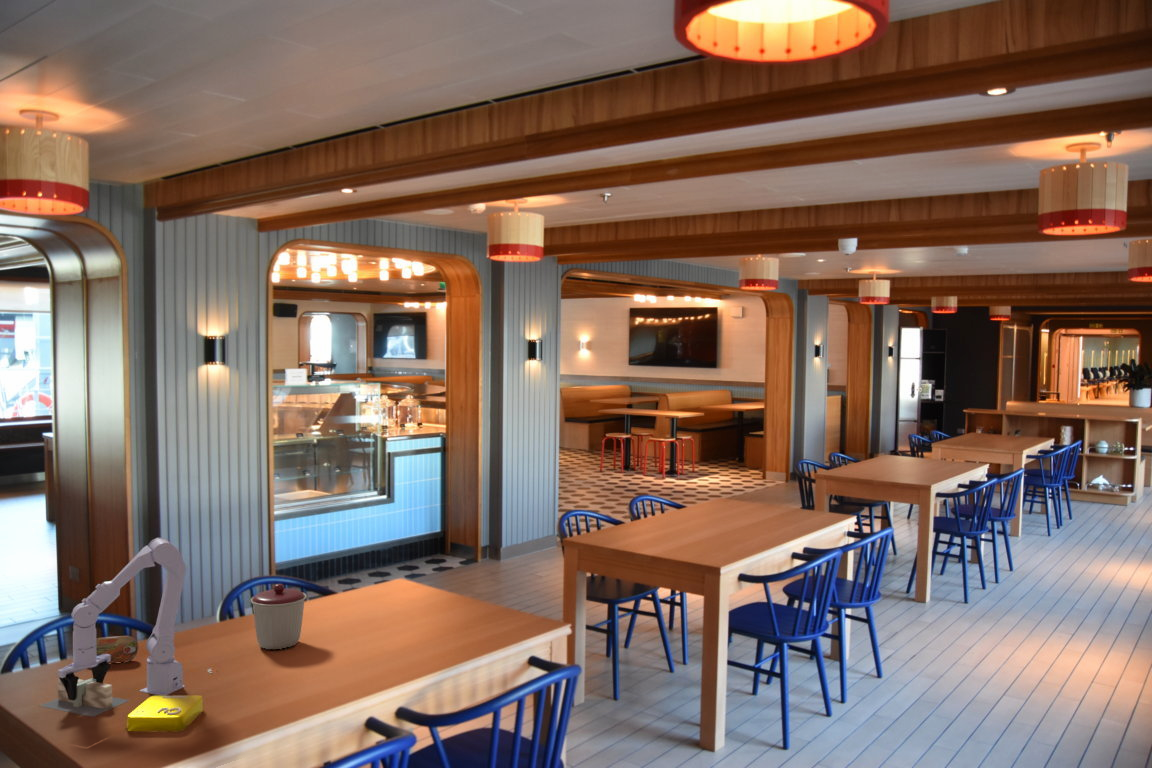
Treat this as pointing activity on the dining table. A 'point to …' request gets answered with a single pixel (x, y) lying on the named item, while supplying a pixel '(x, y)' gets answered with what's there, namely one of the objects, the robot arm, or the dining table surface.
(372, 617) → the dining table surface
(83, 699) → the birch notched plate
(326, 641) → the dining table surface
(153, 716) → the element tile
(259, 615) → the canister
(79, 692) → the sage slotted block
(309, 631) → the dining table surface
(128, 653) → the tin
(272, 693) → the dining table surface
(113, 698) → the slate mat
